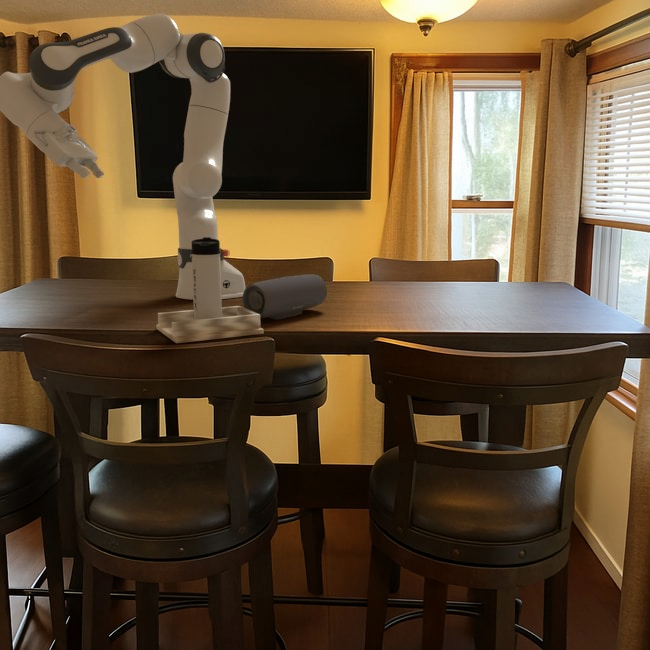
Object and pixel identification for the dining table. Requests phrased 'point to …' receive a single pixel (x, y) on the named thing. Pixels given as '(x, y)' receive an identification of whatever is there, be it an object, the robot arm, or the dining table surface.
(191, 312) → the tray
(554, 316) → the dining table surface
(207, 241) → the travel mug
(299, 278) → the bluetooth speaker
